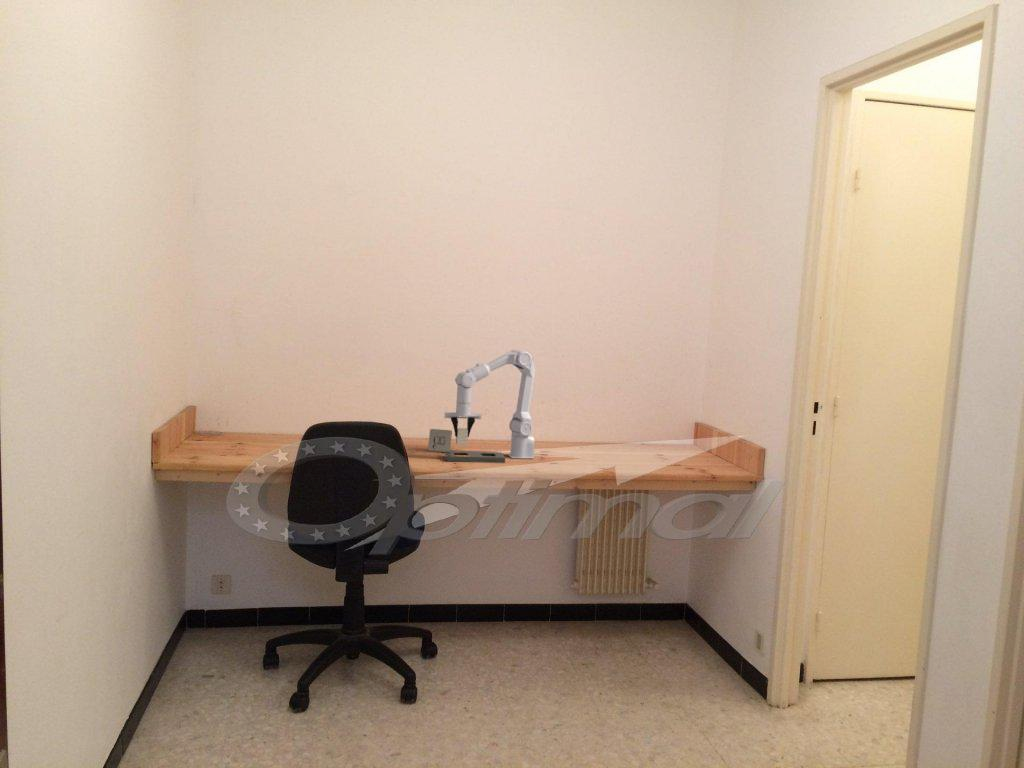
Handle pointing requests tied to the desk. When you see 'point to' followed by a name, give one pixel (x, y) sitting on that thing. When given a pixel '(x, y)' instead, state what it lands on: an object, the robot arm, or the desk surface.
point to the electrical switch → (440, 440)
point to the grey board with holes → (474, 457)
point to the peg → (462, 436)
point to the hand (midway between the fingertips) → (461, 436)
